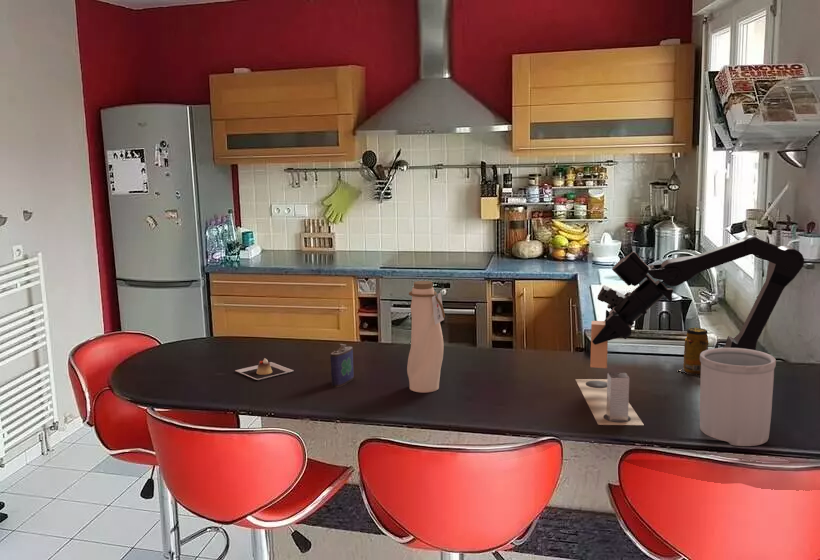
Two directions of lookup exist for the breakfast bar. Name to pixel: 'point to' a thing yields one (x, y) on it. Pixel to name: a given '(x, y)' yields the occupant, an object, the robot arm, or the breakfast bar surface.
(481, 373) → the breakfast bar surface
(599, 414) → the template board
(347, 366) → the flask
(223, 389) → the breakfast bar surface
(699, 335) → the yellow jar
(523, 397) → the breakfast bar surface
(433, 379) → the water bottle
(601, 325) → the marker post
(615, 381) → the fixed post
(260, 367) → the dessert
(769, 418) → the utensil holder
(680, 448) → the breakfast bar surface
